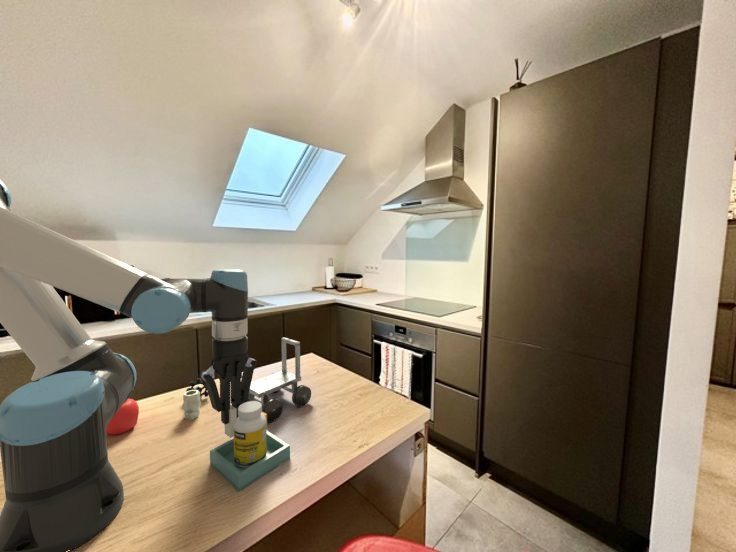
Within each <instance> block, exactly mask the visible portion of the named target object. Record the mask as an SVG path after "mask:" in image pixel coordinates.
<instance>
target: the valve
mask: <svg viewBox="0 0 736 552" xmlns="http://www.w3.org/2000/svg"><path fill="white" fill-rule="evenodd" d="M188 385H189V387H188V388H186V390H185V392H184V393H183V396H182V398H183V399H182V400H183V402H182V409H183V411H184V412H183V418H184V419H185V420H193V419H196V418H198V417H199V416H200V412H201V410H200V408H201V400H202V397H203V396H204V397H205V398H207V397H209V395H208V391H207V388H206V384H205V381H204V380H203V381H202V378H201V377H198V378H196V382H194V381H193V380H192V381H190V382H189V383H188ZM196 385H198V386H197V387H195V386H196ZM201 385H202V386H201ZM194 387H195V388H194ZM203 390H204V391H203ZM202 391H203V392H202Z"/></svg>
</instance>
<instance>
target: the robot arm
mask: <svg viewBox="0 0 736 552" xmlns="http://www.w3.org/2000/svg"><path fill="white" fill-rule="evenodd" d="M11 205H12V195H11V192H10V190H9V188H8V186H7V185H6V183H4V181H3V180H2V179H0V324H1V326H2V327H3V328H4V329H5V331H7V333H8V335H10V336H11V338H12V340H13V341H14V342H16V344H17V345H18V346H19V348H20V349H21V351H22V352H24V354H25V355H26V356H27V358H28V359H29V360H30V361H31V362H32V364H33V365H34V368H35V369H34V371H33V373H32V375H31V380H30V382H28V383H26V384H25V385H23V386H20V387H18V388H17V389H15V390H14V391H13V392H10V394H9V395H7V396H6V397H5V398H4V400H3V401H1V404H0V459H1V467H2V477H3V485H4V494H5V500H4V504H3V507H2V509H1V512H0V552H66V551H68V550H71V549H73V550H75V549H77V548H78V546H79V547H80V546H82V545H84V544H85V543H87V542H88V541H90V540H91V539H92V538H94V537H95V536H96V535H98V534H99V533H100V532H101V531H103V530H104V529H105V528H106V527H107V526H108V525H109V524H110V523H111V522H112V521H113V520H114V518H116V516H117V515H118V513H119V512H120V511H121V508H122V506H123V504H124V500H125V499H124V498H125V495H124V485H123V483H122V480H121V479H120V477H119V476H118V474H117V472H116V471H115V468H114V467H113V466H112V464H111V462H110V461H109V454H108V442H107V433H106V428H107V425H108V423H109V422H110V421H111V419H112V418H113V417H114V416H115V414H116V413H117V412H118V410H119V409H120V407H121V406H122V405H123V404H124V403H125V402H126V401H127V400H128V399H130V397H131V395H132V393H133V391H134V388H135V385H136V382H137V370H136V368H135V365H134V363H133V362H132V361H131V360H130V358H128V357H127V356H125V355H123V354H121V353H116V352H114V351H113V350H112V349H111V347H110V346H109V345H108V343H107V342H106V341H103V340H96V339H94V338H93V339H92V337H91V336H90V334H88V333H87V331H86V329H84V327H83V325H82V324H81V323H80V321H79V320H78V319H77V317H76V316H75V315H74V313H73V312H72V310H71V309H70V308H69V306H67V304H66V303H65V301H64V300H63V298H62V297H61V296H60V295H59V294H58V292H57V291H56V289H59V290H61V291H65V292H67V293H69V294H72V295H74V296H76V297H79V298H82V299H83V300H86V301H90V302H92V303H94V304H97V305H100V306H102V307H105V308H107V309H109V310H112V311H115V312H117V313H120V314H122V315H125V316H127V317H130V318H131V319H132V320H133V323H135V324H136V326H137V327H138V328H140V329H141V330H142V331H145V332H147V333H151V334H164V333H169V332H171V331H173V330H175V329H176V328H178V327H179V326H181V325H182V324H183V323H184V322H185V321H187V319H188V318H189V316H190V314H196V313H197V314H199V313H211V336H212V337H213V338H212V340H211V355H212V360H211V362H210V365H209V366H210V367H209V368H208V369H206V370H205V371H204V370H203V371H200V372H199V378H201V380H203V382H204V381H205V384H206V388H207V392H208V398H209V401H210V405H211V407H212V408H213V410H214V411H216V412H218V413H219V412H220V422H221V423H222V424H223V425H224V434H225V435H226V436H228V437H229V438H231V439H232V438H234V429H233V427H234V422H235V420H236V419H237V418H238V417H239V416H238V407H239V406H240V405H241V403H242V402H245V401H247V399H248V395H249V390H250V386H251V382H253V381H252V380H253V376H254V371H255V369H256V366H257V365H258V360H257V359H254V358H252V357H249V354H248V350H249V349H248V348H249V347H248V346H249V345H248V344H249V339H248V337H249V336H247V335H248V333H249V332H248V328H249V327H248V318H249V317H248V316H249V315H248V313H249V310H248V309H249V308H248V307H249V306H248V305H249V304H248V303H249V288H248V287H249V285H248V284H249V283H248V274H247V272H246V271H245V270H243V269H235V268H223V269H221V268H218V269H213V270H212V271H211V275H210V277H207V278H171V277H164V278H158V277H156V276H153V275H151V274H148V273H147V272H144V271H143V270H140V269H138V268H136V267H134V266H131V265H129V264H127V263H125V262H123V261H120V260H119V259H116V258H114V257H112V256H109V255H108V254H105V253H103V252H101V251H99V250H97V249H94V248H92V247H90V246H87V244H83V243H81V242H80V241H77V240H74V239H72V238H70V237H68V236H66V235H64V234H61V233H59V232H56V231H55V230H52V229H51V228H48V227H46V226H44V225H42V224H40V223H37V222H35V221H33V220H30V219H29V218H26V217H24V216H22V215H19V214H17V213H16V212H13V211H11V210H10V208H11V207H10V206H11ZM55 288H56V289H55ZM215 373H216V375H218V380H219V389H218V387H217V383H216V381H215ZM76 547H77V548H76ZM74 548H75V549H74Z"/></svg>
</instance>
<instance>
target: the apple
mask: <svg viewBox="0 0 736 552" xmlns="http://www.w3.org/2000/svg"><path fill="white" fill-rule="evenodd" d="M139 408H140V407H139V403H138V401H136V400H134V398H128V400H127V401H126V402H125V403H124V404H123V405H122V406H121V407H120V409H119V410H118V412H117V413H116V414H115V416H114V417H113V418H112V419H111V421H110V422H109V423H108V425H107V428H106V434H110V435H114V436H117V435H120V434H123V433H125V432H127V431H129V430H131V429H133V427H135V426H136V425H137V423H138V420H139V412H140V409H139Z"/></svg>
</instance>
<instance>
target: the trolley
mask: <svg viewBox="0 0 736 552" xmlns="http://www.w3.org/2000/svg"><path fill="white" fill-rule="evenodd" d="M287 344H288V345H292V346H294V352H295V353H294V356H295V359H294V360H295V361H294V363H295V367H294V368H295V369H294V370H295V373H294V372H291V371H290V370H287V369H288V368H287V363H288V361H287ZM301 381H302V376H301V342H300V341H298V340H294V339H291V338H288V337H285V336H284V337H281V370H280V371H277V372H275V373H271V374H270V375H266V376H264V377H261V378H258V379H256V380H253V381H251V386H250V390H249V395H248V399H247V401H245V402H242V403H241V404H243V403H246V402H249V401H258V402H260V403H261V404H262V412H264V413H266V414H267V423H273V422H275V421H277V420H278V419H279V418H280V417H281V415H282V413H283V409H284V405H283V402H282V401H281V400H280V399H277V398H275V397H271V398H269V396H268V395H270V394H276V393H278V392H280V391H281V389H282V390H284V391H287V392H289V393H291V394H292V396H291V401H292V404H293V405H295V406H298V407H300V408H302V407H305V406H306V405H307V404H308V403H309V402H310V400H311V397H312V390H311V388H310V387H309V386H306V385H304V384H300V385H298V383H299V382H301ZM289 386H291V387H289ZM256 397H257V398H258V399H257V398H256ZM259 399H260V400H259Z"/></svg>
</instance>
